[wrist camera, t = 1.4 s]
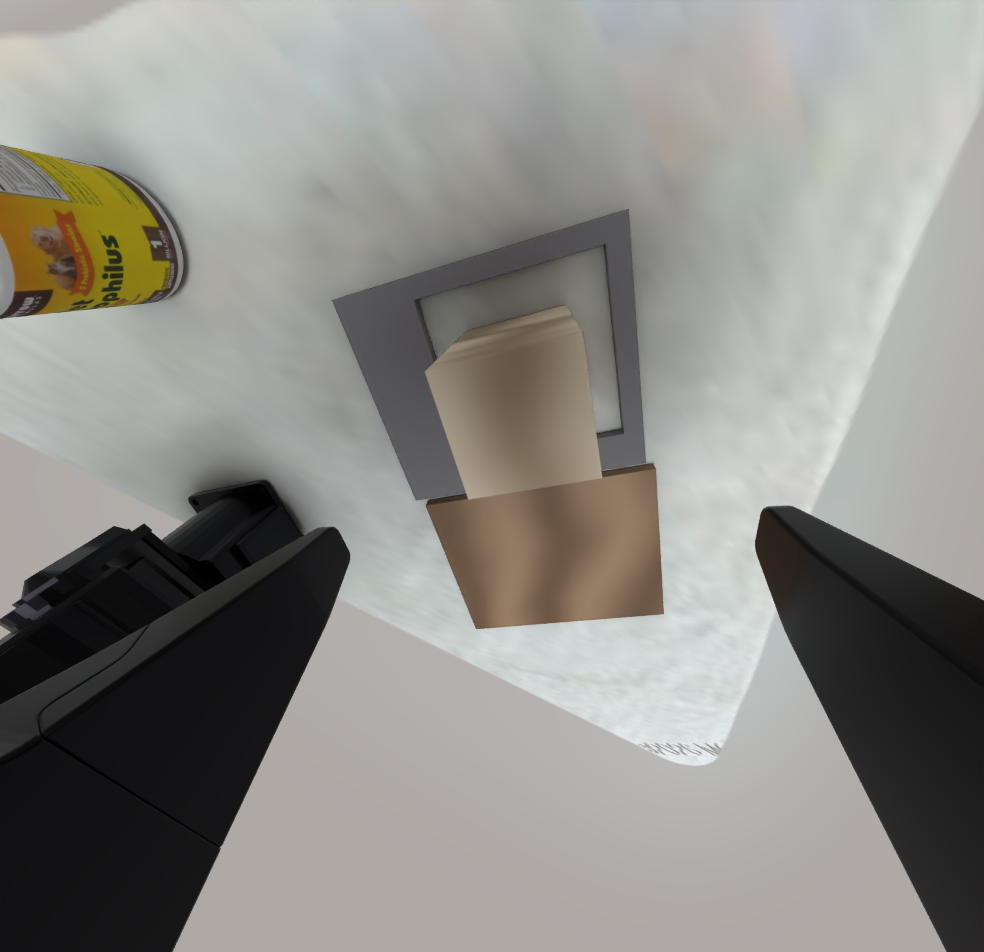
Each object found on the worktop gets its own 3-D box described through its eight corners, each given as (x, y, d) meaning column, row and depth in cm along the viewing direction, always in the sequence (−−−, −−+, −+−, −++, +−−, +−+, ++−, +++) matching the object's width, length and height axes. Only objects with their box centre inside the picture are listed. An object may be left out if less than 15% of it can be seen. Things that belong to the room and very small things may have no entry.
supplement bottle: (167, 324, 20) (-112, 373, 12) (64, 237, 19) (-354, 218, 10) (209, 242, 18) (-100, 225, 9) (95, 134, 17) (-411, -9, 8)
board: (477, 622, 30) (476, 629, 29) (428, 500, 24) (425, 505, 24) (661, 607, 27) (663, 613, 26) (653, 463, 21) (655, 468, 21)
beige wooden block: (491, 421, 21) (468, 499, 14) (466, 330, 19) (424, 371, 12) (580, 403, 20) (602, 478, 13) (565, 304, 18) (583, 332, 11)
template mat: (418, 495, 24) (415, 500, 24) (337, 299, 19) (331, 300, 18) (643, 457, 21) (646, 462, 21) (625, 210, 16) (628, 208, 15)
